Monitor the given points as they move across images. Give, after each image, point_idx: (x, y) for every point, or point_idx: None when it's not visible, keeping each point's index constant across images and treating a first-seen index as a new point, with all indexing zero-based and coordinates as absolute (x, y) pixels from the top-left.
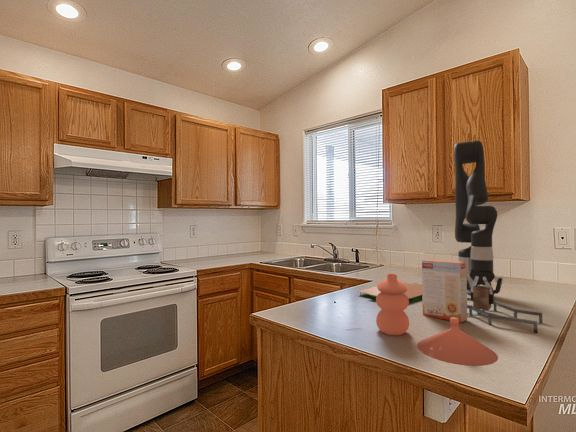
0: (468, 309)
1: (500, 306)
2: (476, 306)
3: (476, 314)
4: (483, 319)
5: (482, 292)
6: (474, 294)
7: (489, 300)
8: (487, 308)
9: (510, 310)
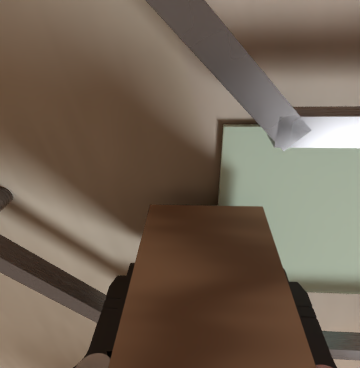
0: (295, 232)
1: (103, 295)
2: (239, 216)
3: (224, 131)
4: (143, 26)
5: (182, 359)
6: (283, 319)
7: None
8: (152, 212)
9: (12, 242)
